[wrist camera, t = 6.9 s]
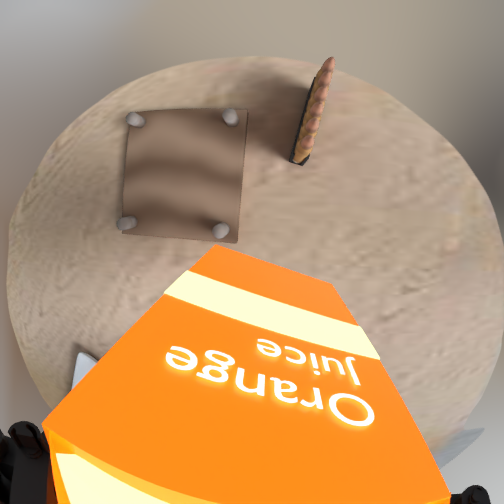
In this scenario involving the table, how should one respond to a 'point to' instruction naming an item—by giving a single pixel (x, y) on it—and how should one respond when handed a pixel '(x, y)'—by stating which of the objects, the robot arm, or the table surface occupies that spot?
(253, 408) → the orange juice
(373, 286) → the table surface
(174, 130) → the peg stand
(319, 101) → the ammunition clip
